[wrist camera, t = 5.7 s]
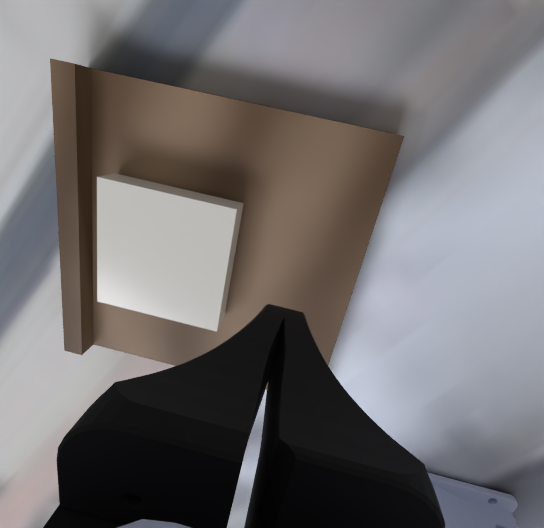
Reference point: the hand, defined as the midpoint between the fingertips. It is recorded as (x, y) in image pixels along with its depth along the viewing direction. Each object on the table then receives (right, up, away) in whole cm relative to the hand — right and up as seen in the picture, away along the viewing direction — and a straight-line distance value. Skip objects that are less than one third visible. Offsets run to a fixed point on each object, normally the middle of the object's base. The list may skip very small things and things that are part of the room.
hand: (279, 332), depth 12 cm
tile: (-2, +2, +4) cm, 5 cm away
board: (-3, +3, +6) cm, 7 cm away
